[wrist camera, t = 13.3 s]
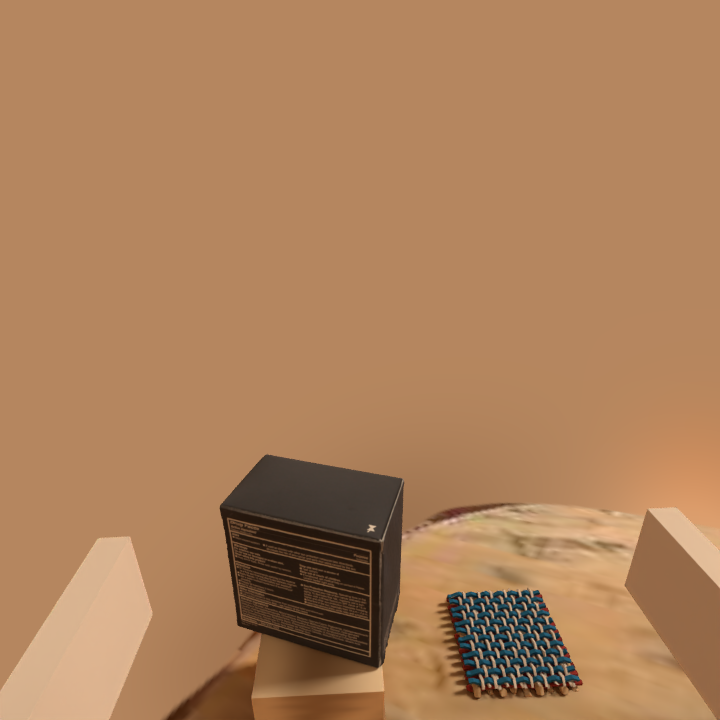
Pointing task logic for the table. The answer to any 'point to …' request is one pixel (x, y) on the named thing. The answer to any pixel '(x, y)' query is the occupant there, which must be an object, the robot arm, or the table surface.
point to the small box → (316, 555)
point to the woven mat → (510, 643)
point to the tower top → (313, 685)
